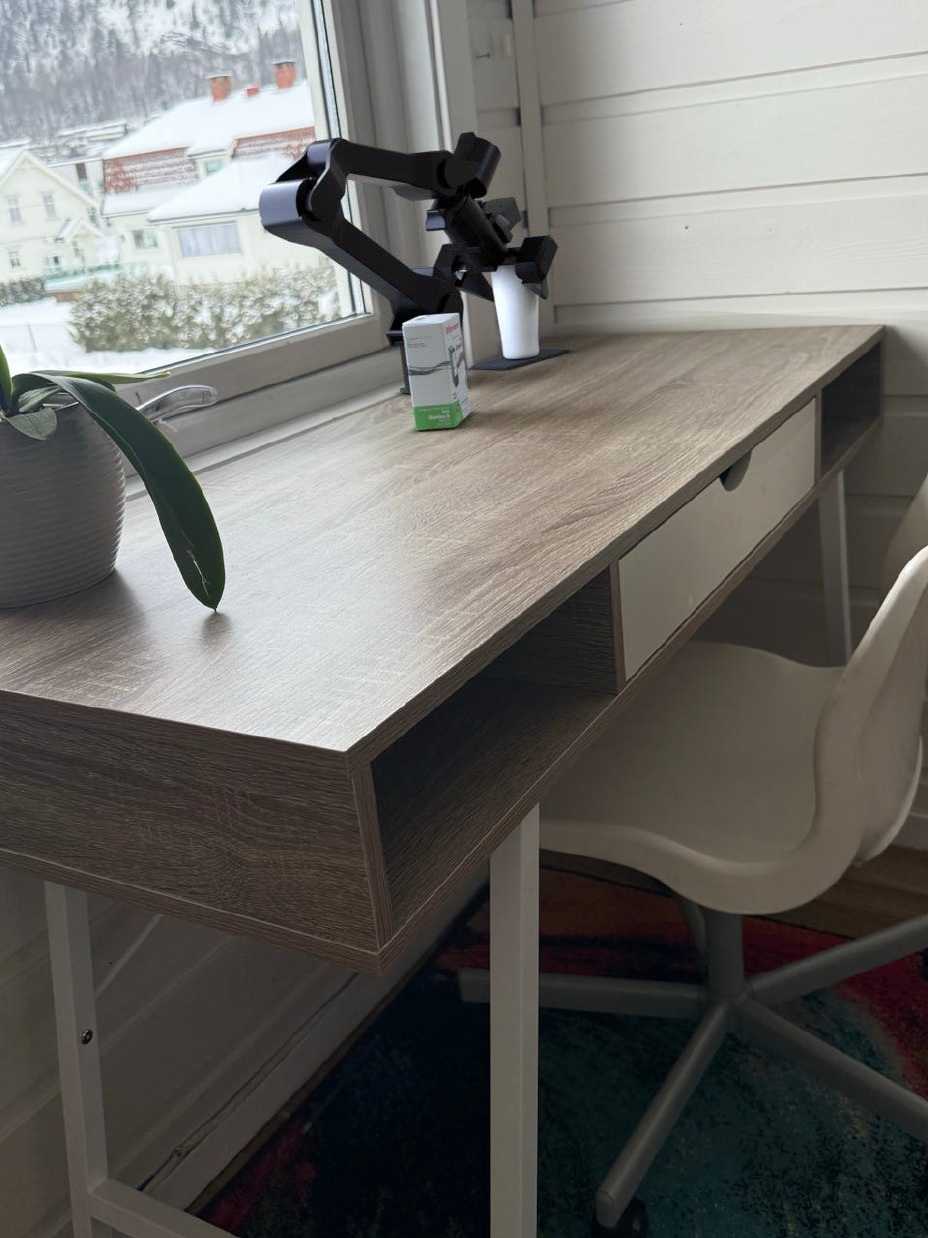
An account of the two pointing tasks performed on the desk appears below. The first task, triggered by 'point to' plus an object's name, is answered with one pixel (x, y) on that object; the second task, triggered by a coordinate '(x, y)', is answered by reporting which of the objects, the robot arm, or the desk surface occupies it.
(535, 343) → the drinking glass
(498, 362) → the mat
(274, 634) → the desk surface
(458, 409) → the ink box
